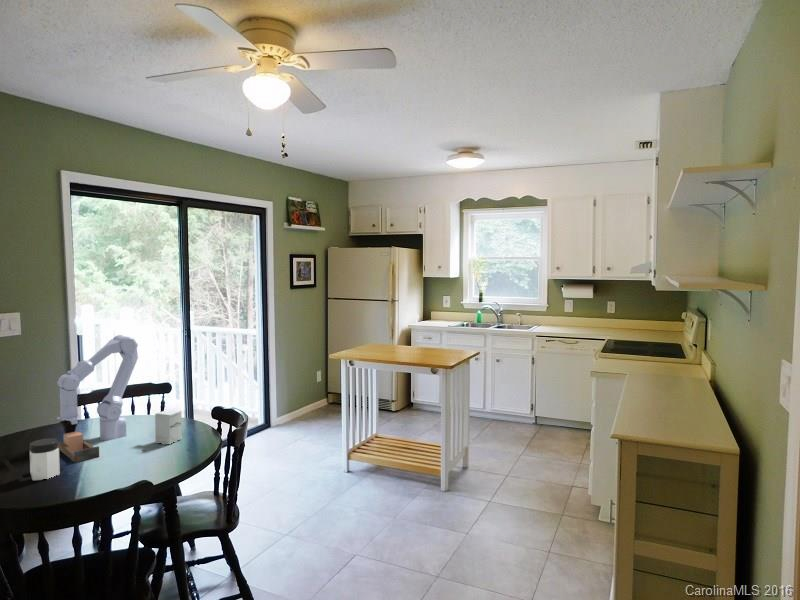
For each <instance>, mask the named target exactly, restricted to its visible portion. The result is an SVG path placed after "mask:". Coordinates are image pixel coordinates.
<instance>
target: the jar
mask: <svg viewBox="0 0 800 600" xmlns="http://www.w3.org/2000/svg"><path fill="white" fill-rule="evenodd" d="M58 442H59V440H58V438H53V437H52V438H50V437H49V438H43V439H42V438H41V439H37V440H34V441H32V442H30V443H29V472H30V478H31V480H32V481H42V480H43V479H47V480H50V479H51V477H52V478H55V477H56V475H57V476H59V475H60V474H61V471H60V470H61V469H60V450H59V448H58ZM54 476H55V477H54ZM49 478H50V479H49ZM43 481H44V480H43Z"/></svg>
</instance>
